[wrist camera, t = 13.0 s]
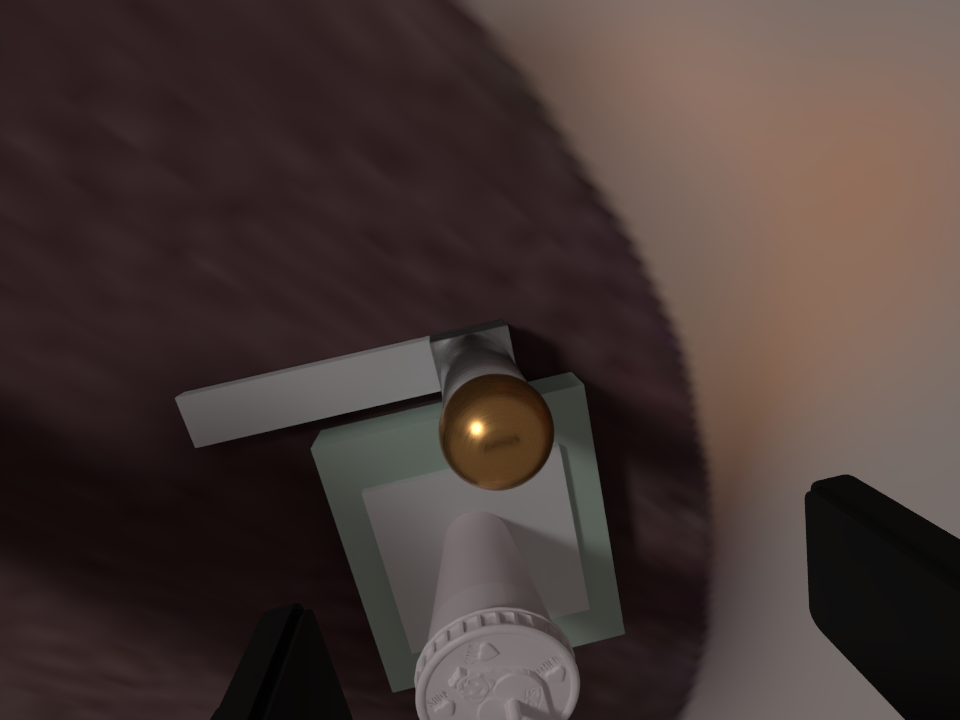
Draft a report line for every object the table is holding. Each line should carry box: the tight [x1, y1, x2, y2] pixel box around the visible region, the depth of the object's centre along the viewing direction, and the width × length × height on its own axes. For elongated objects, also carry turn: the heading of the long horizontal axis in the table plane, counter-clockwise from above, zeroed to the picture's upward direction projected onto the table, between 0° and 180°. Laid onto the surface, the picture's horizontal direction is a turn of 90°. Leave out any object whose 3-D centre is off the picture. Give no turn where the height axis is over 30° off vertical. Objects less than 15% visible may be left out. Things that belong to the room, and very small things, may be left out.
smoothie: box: [414, 512, 580, 720], centre depth 21 cm, size 6×6×14 cm
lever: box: [429, 319, 554, 491], centre depth 21 cm, size 4×4×12 cm
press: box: [175, 336, 625, 693], centre depth 29 cm, size 22×21×3 cm
